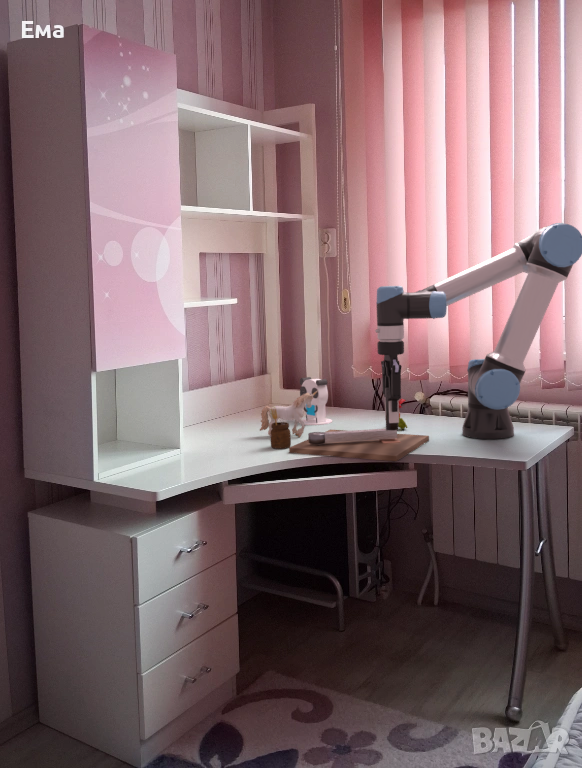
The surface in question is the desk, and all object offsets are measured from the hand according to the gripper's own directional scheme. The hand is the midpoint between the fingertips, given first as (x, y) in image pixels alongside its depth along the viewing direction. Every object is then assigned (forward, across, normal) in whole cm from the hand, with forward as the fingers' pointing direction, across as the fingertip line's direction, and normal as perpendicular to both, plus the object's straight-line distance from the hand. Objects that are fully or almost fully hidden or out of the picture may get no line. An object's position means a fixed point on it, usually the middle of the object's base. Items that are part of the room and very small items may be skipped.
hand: (392, 421), depth 230 cm
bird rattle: (+7, -25, +7) cm, 27 cm away
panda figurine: (+7, -44, -15) cm, 47 cm away
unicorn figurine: (+7, -25, -26) cm, 37 cm away
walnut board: (+7, -1, -9) cm, 12 cm away
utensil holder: (+7, -7, -32) cm, 33 cm away
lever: (+5, 0, -11) cm, 12 cm away
